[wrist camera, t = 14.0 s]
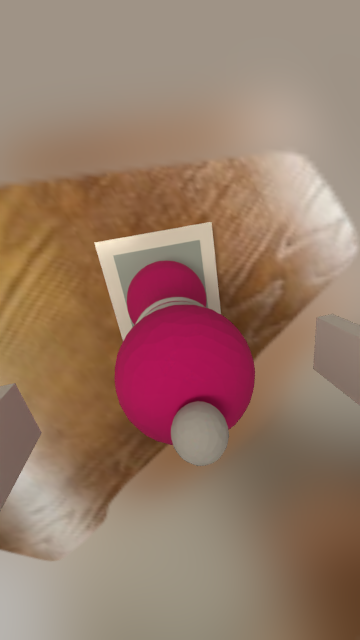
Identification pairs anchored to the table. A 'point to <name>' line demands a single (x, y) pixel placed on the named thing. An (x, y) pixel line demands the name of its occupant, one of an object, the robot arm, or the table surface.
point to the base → (141, 250)
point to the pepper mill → (182, 364)
